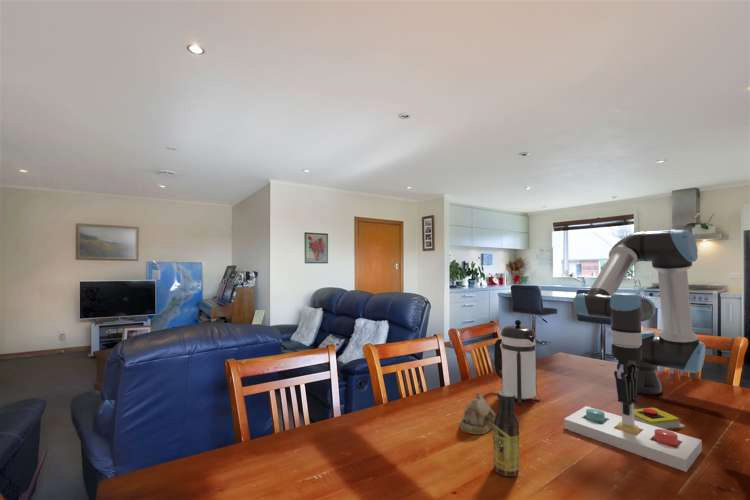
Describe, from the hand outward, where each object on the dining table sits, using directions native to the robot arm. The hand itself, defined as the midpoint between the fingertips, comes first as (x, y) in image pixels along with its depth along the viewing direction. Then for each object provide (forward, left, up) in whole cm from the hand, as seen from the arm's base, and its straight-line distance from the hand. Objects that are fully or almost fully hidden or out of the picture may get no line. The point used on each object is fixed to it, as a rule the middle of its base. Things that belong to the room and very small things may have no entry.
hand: (628, 424), depth 108 cm
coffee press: (-4, -39, -4) cm, 39 cm away
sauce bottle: (+43, -13, -4) cm, 45 cm away
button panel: (0, 0, -4) cm, 4 cm away
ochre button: (0, 0, -4) cm, 4 cm away
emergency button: (-19, +1, -5) cm, 20 cm away
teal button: (0, -9, -3) cm, 9 cm away
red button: (0, +9, -3) cm, 9 cm away
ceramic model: (+27, -33, -5) cm, 43 cm away
